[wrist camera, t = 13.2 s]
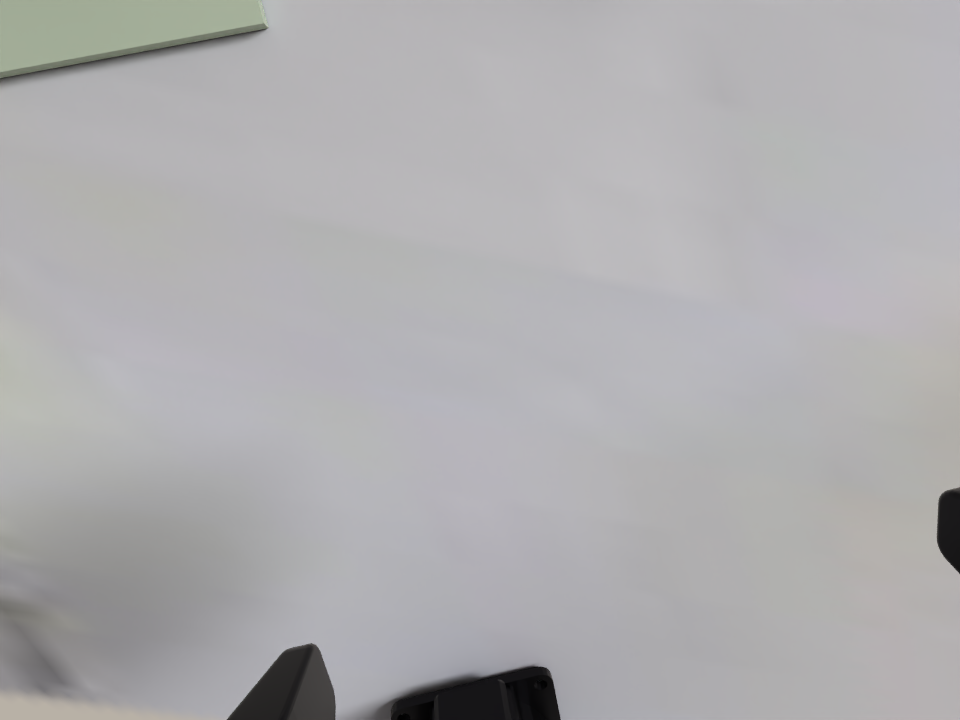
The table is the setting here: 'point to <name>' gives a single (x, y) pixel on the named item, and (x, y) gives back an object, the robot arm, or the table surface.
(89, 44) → the rubber mat
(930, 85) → the table surface
